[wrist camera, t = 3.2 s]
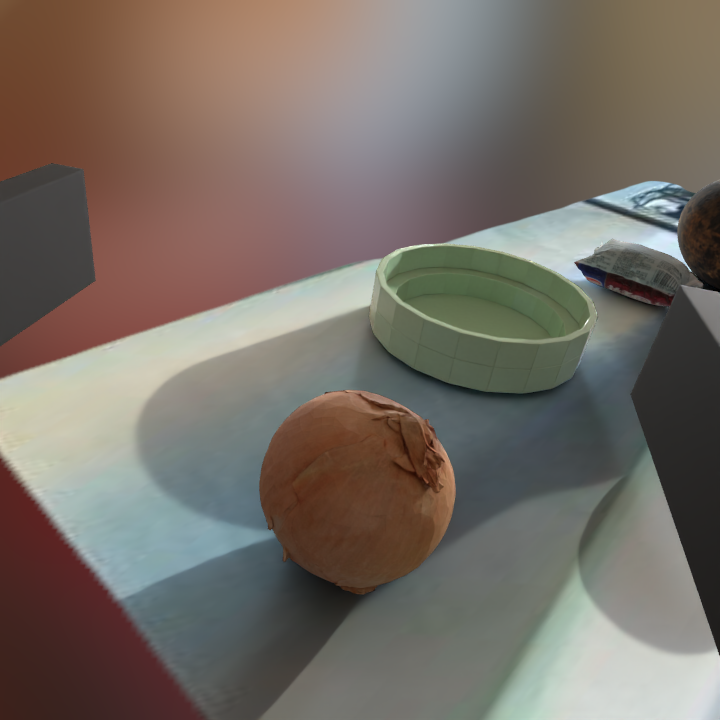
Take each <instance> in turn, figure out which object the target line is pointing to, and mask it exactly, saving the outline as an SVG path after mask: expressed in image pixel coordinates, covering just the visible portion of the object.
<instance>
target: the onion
mask: <svg viewBox="0 0 720 720" xmlns="http://www.w3.org/2000/svg"><path fill="white" fill-rule="evenodd" d="M259 491H260V500H261V506H262V509H263V512H264V515H265V517H266V521H267V523H268V529H269V530H271V529H273V531H274V533H275V535H276V537H277V539H278V540H279V542H280V543H281V545H282V546H283V561H284V562H286V560H287V559H288V558H290V559H291V560H292V561H294V562H295V563H297V564H299V565H300V566H301V567H302V568H304V569H306V570H307V571H309V572H310V573H312V574H314V575H316V576H318V577H321V578H323V579H325V580H327V581H330V582H332V583H335V585H337V586H341V588H342V589H343V590H345V591H351V592H352V593H355V594H365V593H367V592H371V591H372V590H373V591H374V590H375V588H376V587H377V585H380V584H384V583H388V582H391V581H393V580H395V579H398V578H400V577H402V576H405V575H407V574H408V573H410V572H411V571H413V570H414V569H416V568H417V567H419V566H420V565H421V564H422V563H423V562H424V561H425V560H426V558H427V557H428V556H429V555H430V554H431V553H432V552H433V551H434V550H435V548H436V547H437V545H438V544H439V542H440V541H441V539H442V538H443V536H444V534H445V532H446V530H447V527H448V525H449V522H450V520H451V516H452V512H453V507H454V501H455V494H456V490H455V480H454V472H453V468H452V466H451V463H450V460H449V458H448V455H447V453H446V451H445V450H444V448H443V446H442V445H441V443H440V441H439V439H438V438H437V436H436V433H435V430H434V428H433V427H432V426H431V425H430V424H429V419H426V420H423V419H422V418H421V417H420V416H419V415H417V414H416V413H414V412H413V411H411V410H409V409H408V408H406V407H404V406H402V405H401V404H399V403H397V402H395V401H393V400H391V399H388V398H386V397H383V396H381V395H378V394H374V393H370V392H367V391H358V390H343V391H333V392H325V394H324V395H321V396H318V397H316V398H314V399H312V400H310V401H309V402H307V403H305V404H303V405H301V406H300V407H298V408H297V409H296V410H295V411H294V412H293V413H292V414H291V415H290V416H289V417H287V418H286V420H285V421H284V422H283V423H282V424H281V426H280V427H279V428H278V430H277V431H276V433H275V434H274V436H273V438H272V440H271V442H270V445H269V447H268V450H267V452H266V455H265V457H264V461H263V464H262V468H261V476H260V483H259Z"/></svg>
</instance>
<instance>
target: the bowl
mask: <svg viewBox="0 0 720 720" xmlns="http://www.w3.org/2000/svg"><path fill="white" fill-rule="evenodd" d="M369 318H370V323H371V327H372V331H373V334H374V335H375V336H376V338H377V339H378V340H379V341H380V342H381V344H382V345H383V346H384V347H385V348H386V350H387V351H388V352H389V353H391V354H392V355H394V356H395V357H397V358H398V359H400V360H401V361H403V362H404V363H406V364H407V365H409V366H410V367H412V368H413V369H415V370H418V371H420V372H422V373H425V374H427V375H430V376H432V377H434V378H437V379H439V380H442V381H444V382H446V383H450V384H454V385H458V386H463V387H467V388H471V389H476V390H480V391H484V392H501V393H520V394H522V393H523V394H524V393H530V392H536V391H542V390H548V389H553V388H555V387H557V386H558V385H560V384H562V383H564V382H566V381H567V380H569V379H571V378H572V377H573V376H574V374H575V372H576V370H577V368H578V366H579V364H580V362H581V360H582V357H583V355H584V352H585V350H586V347H587V344H588V341H589V339H590V337H591V334H592V331H593V329H594V326H595V324H596V321H597V318H598V316H597V313H596V309H595V306H594V302H593V301H592V300H591V299H590V298H589V297H588V296H587V295H586V294H585V293H584V291H583V290H582V289H581V288H580V287H579V286H577V285H576V284H574V283H572V282H571V281H569V280H568V279H566V278H565V277H563V276H562V275H560V274H559V273H557V272H555V271H552V270H550V269H548V268H546V267H544V266H541V265H539V264H537V263H535V262H532V261H530V260H526V259H523V258H520V257H517V256H514V255H511V254H508V253H504V252H500V251H495V250H490V249H485V248H480V247H475V246H466V245H455V244H425V245H416V246H411V247H407V248H402V249H398V250H396V251H394V252H393V253H391V254H390V255H387V256H386V257H384V258H383V259H382V260H381V262H380V264H379V266H378V268H377V270H376V275H375V282H374V288H373V294H372V300H371V307H370V313H369Z"/></svg>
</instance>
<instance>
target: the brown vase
mask: <svg viewBox="0 0 720 720" xmlns="http://www.w3.org/2000/svg"><path fill="white" fill-rule="evenodd" d="M677 233H678V243H679V247H680V250H681V253H682V255H683V258H684V260H685V262H686V263H687V265H688V266H689V268H690V269H691V270H692V271H693V272H694V273H695V275H697V276H698V277H699V278H700V279H702V280H703V281H704V282H706V283H708V284H710V285H711V286H713V287H715V288H717V289H719V290H720V180H718V181H715V182H713V183H711V184H709V185H707V186H706V187H704V188H702V189H701V190H700V191H698V192H697V193H696V194H695V195H694V196H693V197H692V198H691V199H690V200H689V201H688V203H687V204H686V206H685V207H684V209H683V211H682V213H681V216H680V219H679V223H678V232H677Z"/></svg>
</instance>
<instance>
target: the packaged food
mask: <svg viewBox="0 0 720 720" xmlns="http://www.w3.org/2000/svg"><path fill="white" fill-rule="evenodd" d="M602 244H603V242H602ZM602 244H601V245H600V247H597V248H596V249H595V250H594V254H593V255H592V256H589V257H587V258H584V259H581V260H579V261H576V262H574V263H575V264H576V266H577V267H578V269H580V270H581V271H582V273H583V275H584V276H585V277H586V279H587V280H588V281H590V282H592V283H594V284H597V285H599V286H602V287H604V288H607V289H609V290H612V291H614V292H618V293H620V294H622V295H624V296H627V297H630V298H633V299H636V300H639V301H642V302H645V303H649V304H653V305H659V306H670V305H671V303H672V300H673V298H674V296H675V294H676V291H677V289H678V287H679V285H684V286H690V287H695V288H696V287H698V288H700V287H701V288H702V287H703V283H701V282H700V281H698V280H697V278H696V277H695V276H694V275H693V273H692V272H689V270H688V268H687V267H686V266H685V264H683V263H682V262H681V261H679V260H677V259H675V258H674V257H672V256H670V255H668V254H665V253H662V252H659V251H656V250H653V249H650V248H647V247H645V246H642V245H639V244H634V243H628V242H621V241H618V240H614V239H611V240H610V241H608V242H607V243H605V244H604V245H603V246H602Z"/></svg>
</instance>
